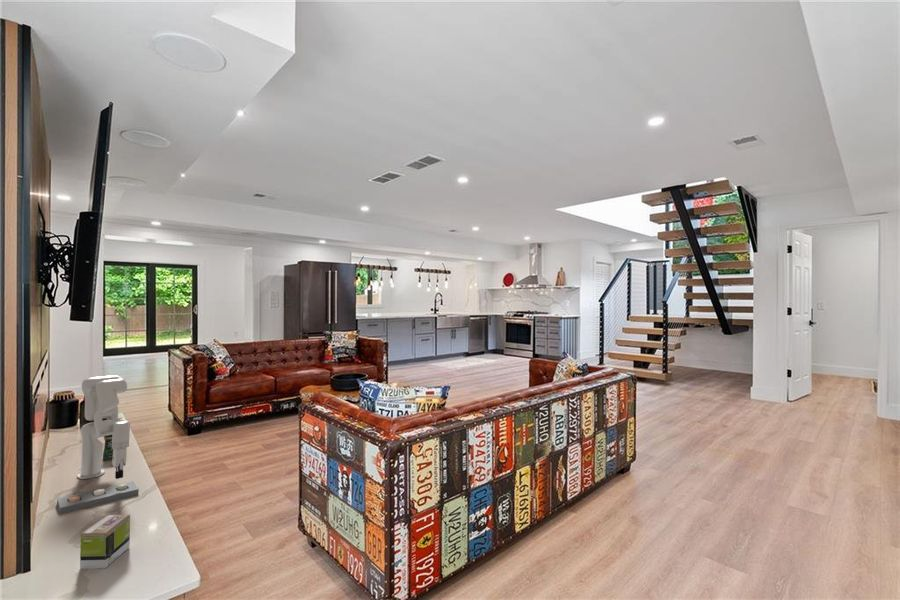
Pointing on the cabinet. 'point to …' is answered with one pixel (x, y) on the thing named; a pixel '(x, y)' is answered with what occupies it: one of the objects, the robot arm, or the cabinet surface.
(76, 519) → the cabinet surface
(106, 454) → the green snack bag
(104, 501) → the button panel
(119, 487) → the sage button
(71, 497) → the terracotta button
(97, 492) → the cream button
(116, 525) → the tea box
